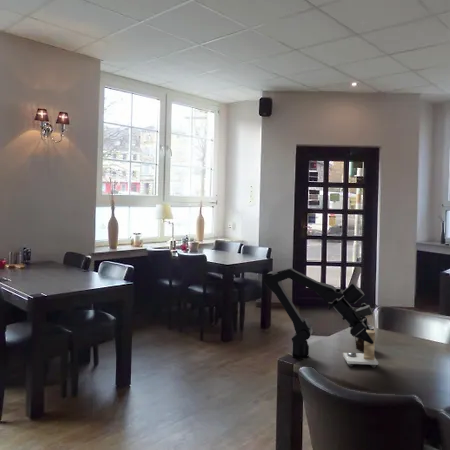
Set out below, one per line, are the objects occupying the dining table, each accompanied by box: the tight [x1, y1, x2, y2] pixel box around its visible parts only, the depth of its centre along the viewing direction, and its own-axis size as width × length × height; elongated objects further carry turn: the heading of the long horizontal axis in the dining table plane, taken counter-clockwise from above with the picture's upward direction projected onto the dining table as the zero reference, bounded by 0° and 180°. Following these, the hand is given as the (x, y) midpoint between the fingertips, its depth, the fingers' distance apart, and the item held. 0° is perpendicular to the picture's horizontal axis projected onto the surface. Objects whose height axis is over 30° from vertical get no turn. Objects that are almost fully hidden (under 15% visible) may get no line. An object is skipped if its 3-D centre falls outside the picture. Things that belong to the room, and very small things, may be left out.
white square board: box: [342, 352, 379, 369], centre depth 186 cm, size 12×10×3 cm
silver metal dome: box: [346, 351, 356, 357], centre depth 188 cm, size 4×4×1 cm
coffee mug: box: [354, 324, 375, 352], centre depth 206 cm, size 12×9×10 cm
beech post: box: [363, 329, 376, 360], centre depth 185 cm, size 4×4×11 cm
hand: (373, 339), depth 185 cm, fingers open, 9 cm apart
